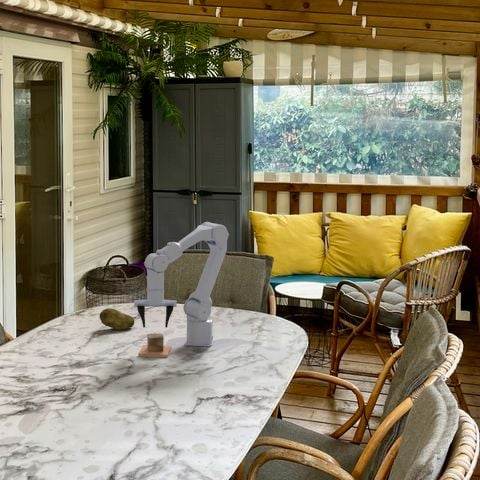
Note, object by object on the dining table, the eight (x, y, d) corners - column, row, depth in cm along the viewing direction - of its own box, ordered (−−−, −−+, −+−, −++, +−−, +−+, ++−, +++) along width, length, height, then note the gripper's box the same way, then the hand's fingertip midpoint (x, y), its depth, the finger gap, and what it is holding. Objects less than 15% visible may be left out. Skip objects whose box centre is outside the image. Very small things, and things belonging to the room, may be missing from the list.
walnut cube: (161, 347, 260) (161, 333, 260) (163, 351, 256) (163, 337, 255) (147, 347, 259) (147, 333, 259) (148, 352, 255) (148, 337, 254)
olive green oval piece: (132, 332, 281) (132, 311, 280) (97, 331, 281) (97, 310, 280) (135, 326, 289) (135, 306, 288) (102, 325, 289) (102, 305, 288)
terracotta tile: (171, 348, 262) (171, 346, 262) (167, 357, 252) (167, 354, 252) (143, 347, 263) (143, 344, 263) (138, 356, 253) (138, 353, 253)
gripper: (176, 286, 261) (176, 323, 263) (134, 285, 260) (134, 323, 262) (176, 290, 254) (176, 329, 256) (134, 290, 253) (133, 329, 255)
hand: (155, 326), depth 259 cm, fingers open, 7 cm apart
